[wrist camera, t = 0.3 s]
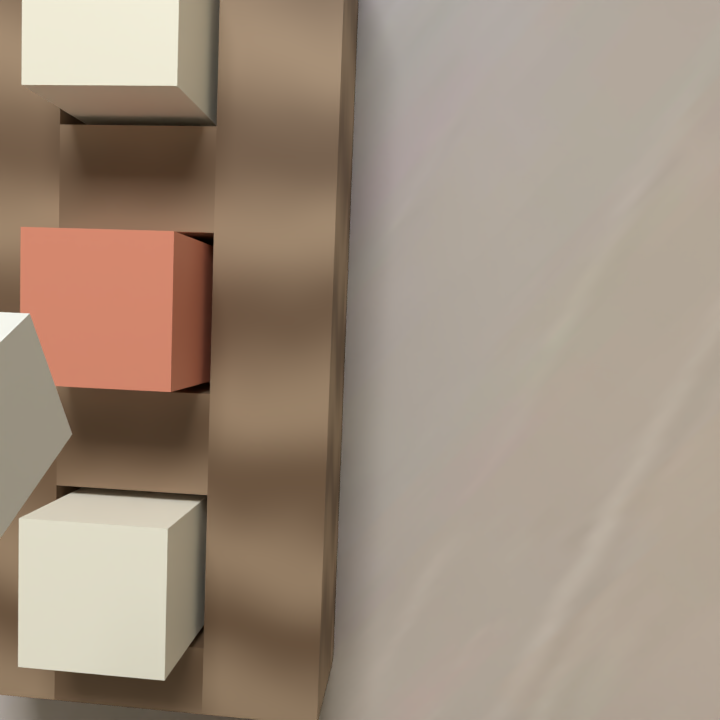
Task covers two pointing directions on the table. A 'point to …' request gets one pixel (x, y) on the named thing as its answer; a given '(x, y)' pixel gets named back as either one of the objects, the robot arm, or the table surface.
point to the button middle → (119, 306)
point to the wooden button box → (214, 348)
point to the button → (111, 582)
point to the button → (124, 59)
